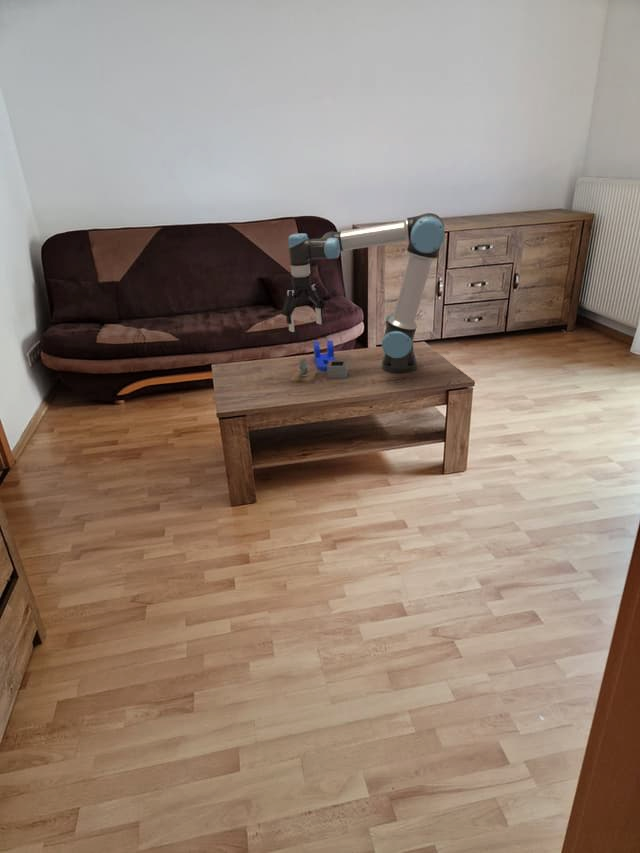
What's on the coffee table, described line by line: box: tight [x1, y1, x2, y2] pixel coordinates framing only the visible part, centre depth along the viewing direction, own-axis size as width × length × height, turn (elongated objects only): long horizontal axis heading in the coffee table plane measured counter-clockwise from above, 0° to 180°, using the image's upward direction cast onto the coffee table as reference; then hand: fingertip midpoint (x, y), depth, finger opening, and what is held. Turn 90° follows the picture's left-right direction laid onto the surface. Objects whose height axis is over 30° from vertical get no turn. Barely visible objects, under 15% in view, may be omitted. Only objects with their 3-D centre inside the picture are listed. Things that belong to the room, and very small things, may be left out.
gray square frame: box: [326, 359, 349, 379], centre depth 241 cm, size 8×8×5 cm
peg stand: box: [290, 358, 318, 384], centre depth 239 cm, size 10×10×8 cm
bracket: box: [313, 340, 335, 372], centre depth 253 cm, size 18×8×9 cm, turn 6°
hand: (305, 327), depth 232 cm, fingers open, 13 cm apart
